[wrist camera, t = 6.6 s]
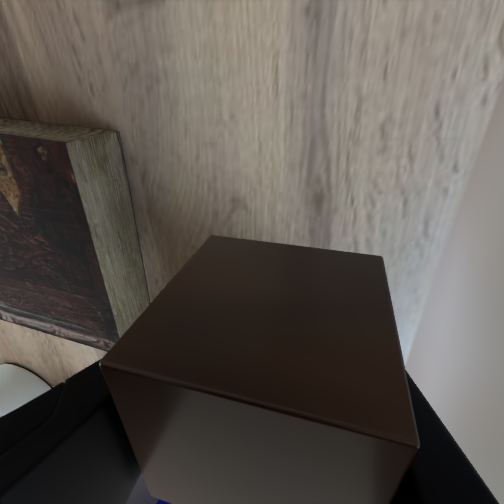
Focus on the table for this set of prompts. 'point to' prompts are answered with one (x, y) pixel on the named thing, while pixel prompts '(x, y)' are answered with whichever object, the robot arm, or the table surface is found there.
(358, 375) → the block
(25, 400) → the white plastic bottle
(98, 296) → the hardback book
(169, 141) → the table surface
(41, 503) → the robot arm
